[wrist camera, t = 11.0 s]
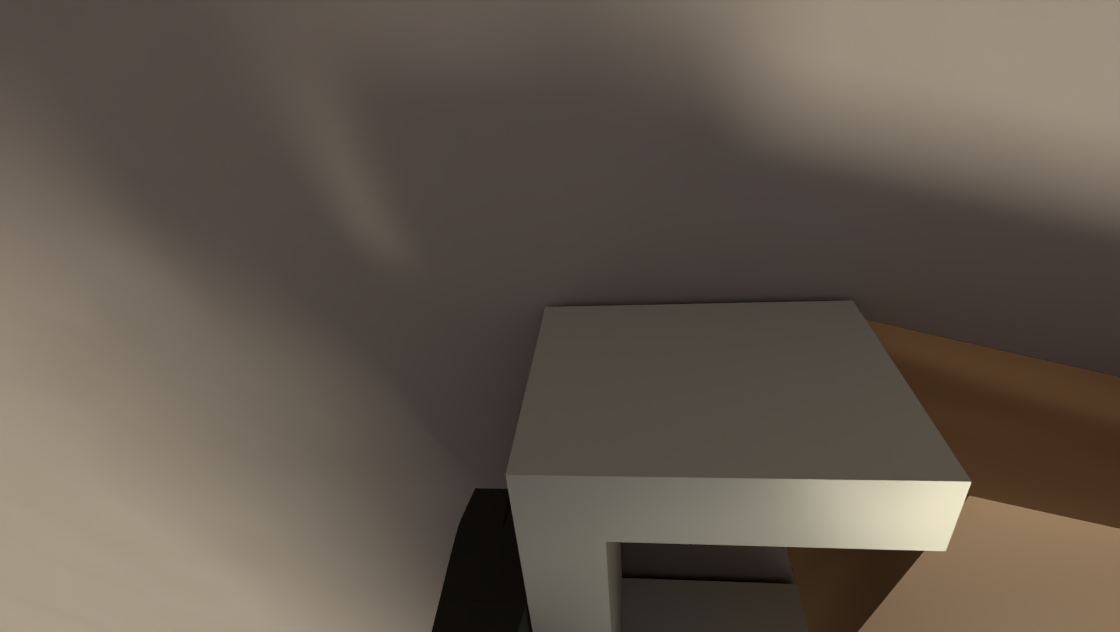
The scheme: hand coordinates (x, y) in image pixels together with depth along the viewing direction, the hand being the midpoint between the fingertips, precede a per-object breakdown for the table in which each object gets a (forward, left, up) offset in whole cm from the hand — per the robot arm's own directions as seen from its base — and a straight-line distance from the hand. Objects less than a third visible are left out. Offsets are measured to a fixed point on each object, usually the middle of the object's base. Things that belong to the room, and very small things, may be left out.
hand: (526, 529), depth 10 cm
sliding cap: (0, -3, -1) cm, 3 cm away
